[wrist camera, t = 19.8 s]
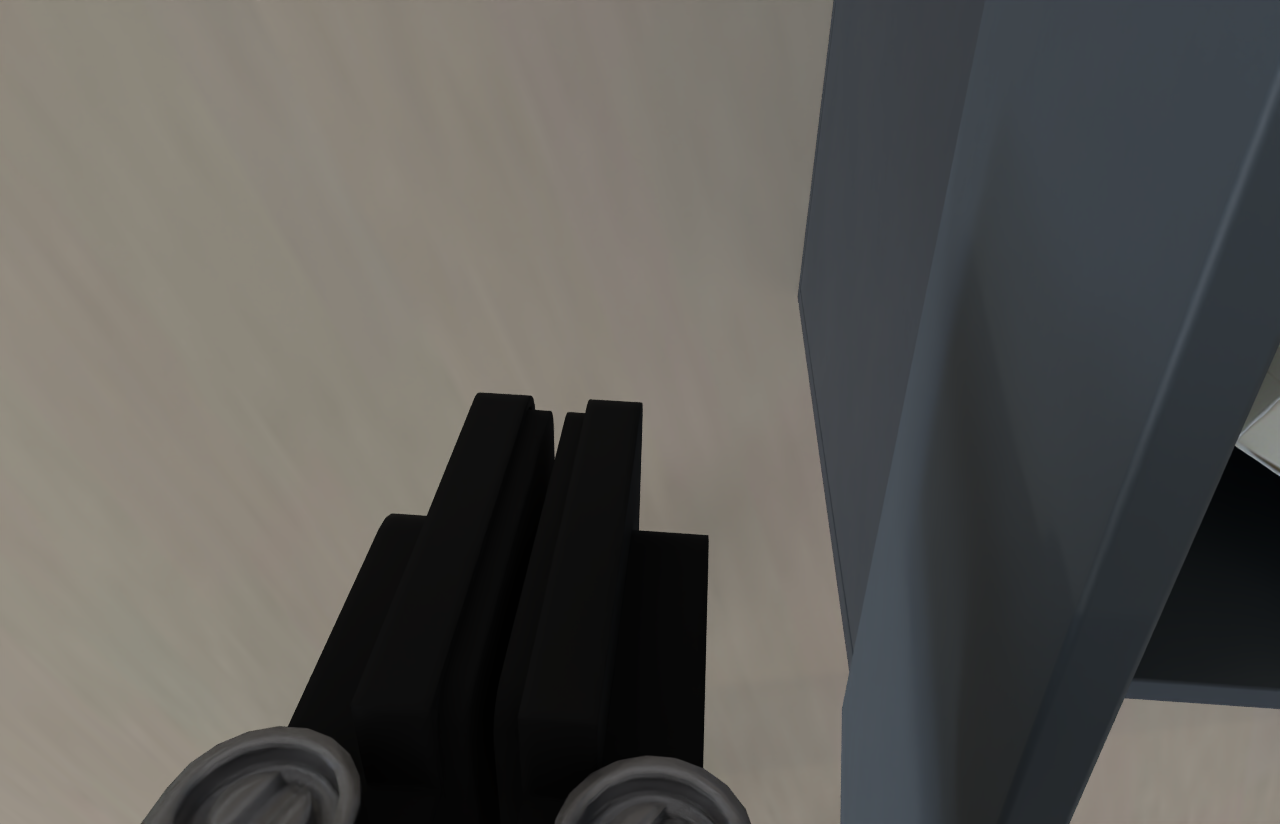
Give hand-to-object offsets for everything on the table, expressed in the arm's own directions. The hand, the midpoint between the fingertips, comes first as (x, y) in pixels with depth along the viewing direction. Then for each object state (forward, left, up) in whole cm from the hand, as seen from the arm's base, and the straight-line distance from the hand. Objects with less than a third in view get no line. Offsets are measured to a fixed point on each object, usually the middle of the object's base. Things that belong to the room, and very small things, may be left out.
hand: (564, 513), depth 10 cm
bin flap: (+4, 0, +1) cm, 4 cm away
